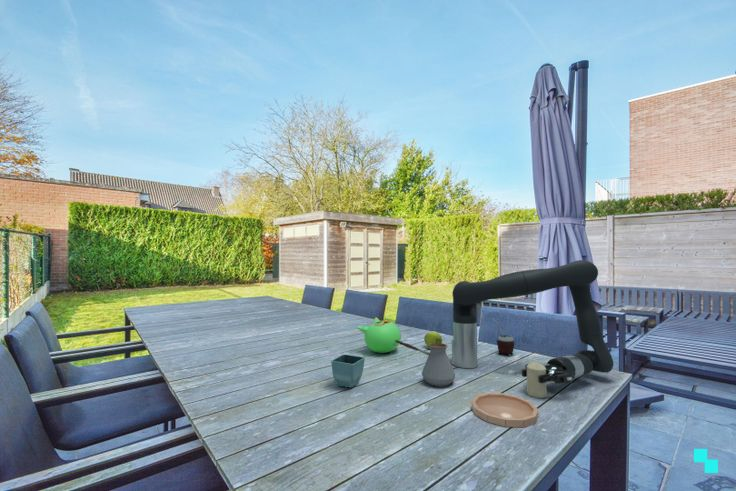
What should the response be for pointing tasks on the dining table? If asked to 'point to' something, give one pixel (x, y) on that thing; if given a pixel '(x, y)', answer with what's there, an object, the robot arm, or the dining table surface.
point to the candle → (535, 380)
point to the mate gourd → (505, 344)
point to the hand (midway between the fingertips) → (531, 376)
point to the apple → (432, 338)
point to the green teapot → (381, 336)
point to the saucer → (504, 410)
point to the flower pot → (347, 369)
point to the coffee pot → (435, 364)
